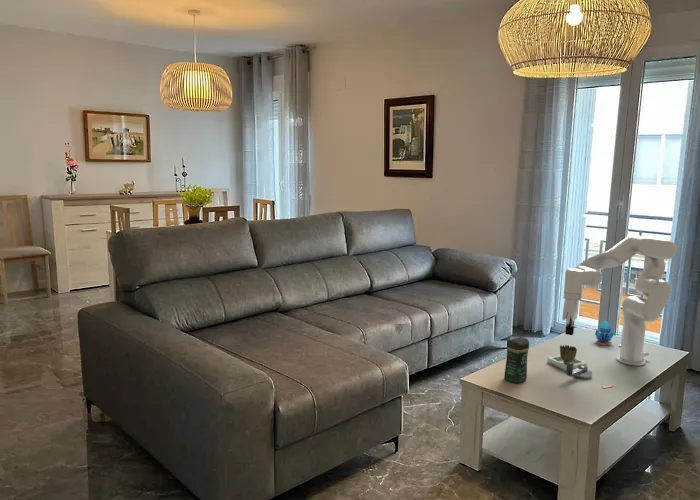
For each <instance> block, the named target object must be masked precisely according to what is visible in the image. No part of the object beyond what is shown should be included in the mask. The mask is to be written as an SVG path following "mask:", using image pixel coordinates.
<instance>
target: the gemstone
mask: <svg viewBox="0 0 700 500" xmlns="http://www.w3.org/2000/svg"><path fill="white" fill-rule="evenodd" d="M598 324H599V326H598V327H599V330H598V329H596V328H595V333H594V335H595V338H596V344H597V345H599V346H605V347H606V346H608V347H610V346H612V338H613V337H614V331H613V330H612V327H613V326H612V324H611V323H609V322H608V321H607V320H604V321H602V322H599V323H598Z"/></svg>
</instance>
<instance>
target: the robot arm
mask: <svg viewBox="0 0 700 500" xmlns="http://www.w3.org/2000/svg"><path fill="white" fill-rule="evenodd" d="M677 252H678V247H677V245H676V243H674V241H671V240H667V239H662V238H657V237H647V236H643V235H637V234H630V235H628V236H627V237H625V238H624V239H622V240H621V241H619V242H618V243H617V244H615V245H614V246H612V247H611V248H610V249H608V250H607V251H604V252H601V253H598V254H596V255H593V256H591V257H588V258H587V259H585V260H583V261H582V262H581V263H579V264H578V265H577V266H576V267H575V268H572V267H571V268H567V269H566V270H565V272H564V273H565V275H564V284H563V285H564V286H563V299H564V304H563V310H562V320H563V321H565V320H566V321H565V322H566V323H565V331H564V332H565V335H569V336H574V333H575V326H574V325H575V320H576V319H577V318H578V315H579V301H581V300H582V293H583V286H591V287H593V286H594V287H595V286H597V285H600V284H601V283H602V281H603V275H602V273H601V272H600V271H599V270H602V269H608V268H616V267H620V266H621V265H623V264H625V262H627V261H629V260H630V259H632V258H633V257H634V256H635V255H636V256H637V255H640V256H644V259H645V261H644V262H645V263H644V266H643V269H642V271H641V273H640V275H639V277H638V279H637V281H636V283H635V291H636V292H637V293H638V294H639V295H642V296H645V297H646V298H643V297H640V296H636V295H630V296H627V297H626V298H625V299H624V300H623V302H622V305H621V306H622V329H621V340H620V349H619V350H620V351H619V354H617V355H616V356H615V359H616V361H617V362H619V363H620V364H621V363H622V364H623V365H624V364H625V365H629V366H639V367H641V366H644V365H646V362H647V361H646V359H645V357H649V355H650V353H649V351H644V345H645V335H646V322H647V323H652V322H656V320H658V319H659V318H660V316H661V314H662V312H663V311H664V308H665V307H666V304H667V303H668V300H669V298H670V296H671V293H672V290H671V289H672V287H671V285H670V283H669V282H668V281H666V280H664V279H662V278H663V276H664V273H665V270H666V262H665V260H670V259H672V258H674V257H675V256H676V255H677Z"/></svg>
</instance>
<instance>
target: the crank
mask: <svg viewBox="0 0 700 500" xmlns="http://www.w3.org/2000/svg"><path fill="white" fill-rule="evenodd" d="M587 370H589V369H588V365H587V366H585V365H578V368H577V369H574V370H573V363H571V362H567V368H566V371H565V372H566V373H565V374H566V376H567V377H571V378H572V377H575V375H577V374H580V373H582V372H587Z"/></svg>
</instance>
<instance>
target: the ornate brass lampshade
mask: <svg viewBox="0 0 700 500" xmlns="http://www.w3.org/2000/svg"><path fill="white" fill-rule="evenodd" d="M577 350H578V348H577V347H576V346H572V345H569V344H568V345H567V344H565V345H564V344H563V345H559V356H561V359H562V360H563V363H564V364H566V365H567V362H571V361H573V360H574V359H575V358H576V357H577V356H576V355H577ZM571 363H572V362H571Z"/></svg>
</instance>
